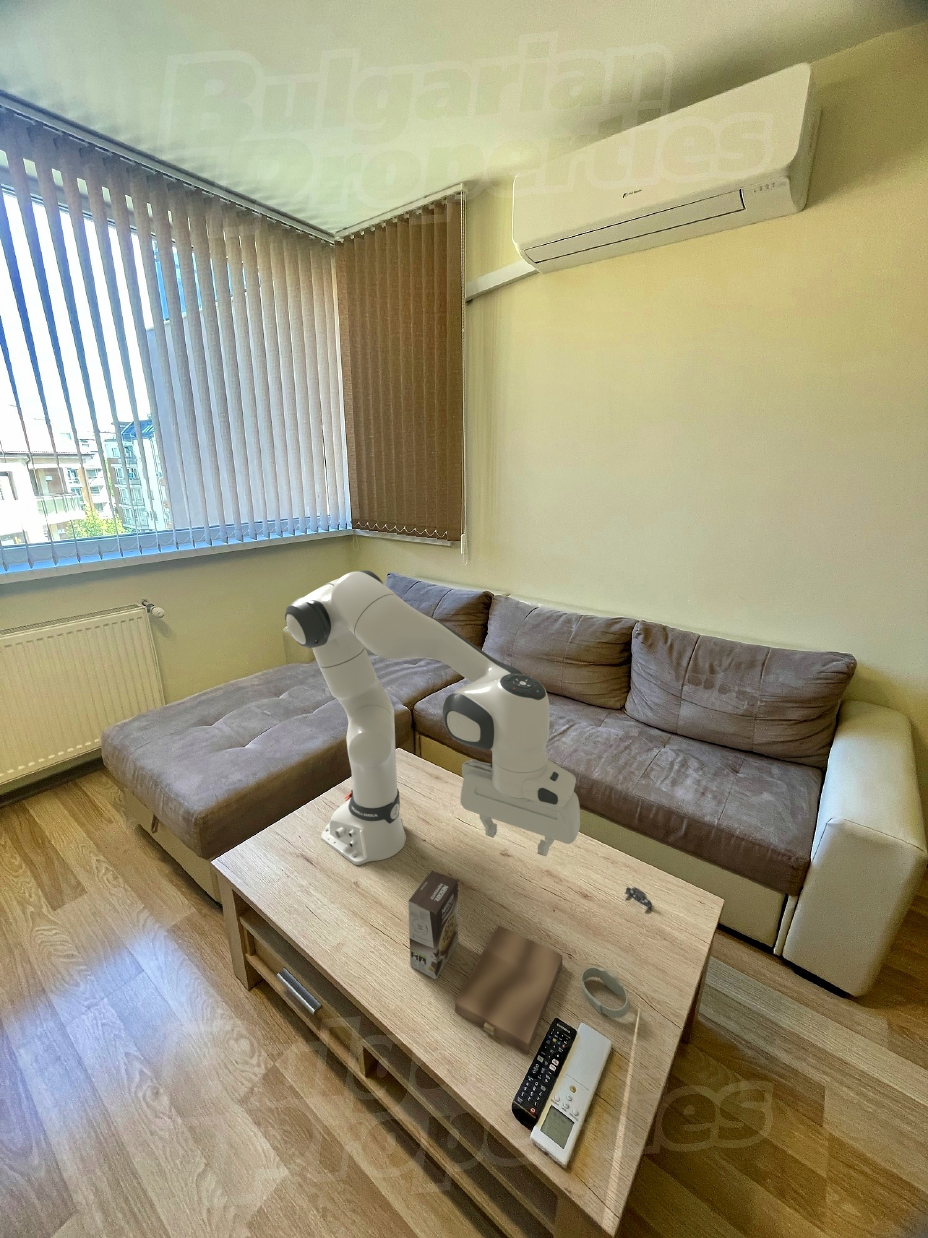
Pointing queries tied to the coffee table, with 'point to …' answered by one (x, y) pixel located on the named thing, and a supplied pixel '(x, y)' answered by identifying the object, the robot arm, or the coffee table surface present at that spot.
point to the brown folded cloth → (510, 988)
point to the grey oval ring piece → (611, 983)
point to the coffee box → (433, 923)
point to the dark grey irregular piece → (639, 897)
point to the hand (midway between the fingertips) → (516, 843)
